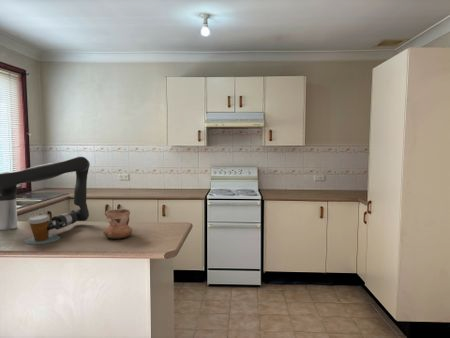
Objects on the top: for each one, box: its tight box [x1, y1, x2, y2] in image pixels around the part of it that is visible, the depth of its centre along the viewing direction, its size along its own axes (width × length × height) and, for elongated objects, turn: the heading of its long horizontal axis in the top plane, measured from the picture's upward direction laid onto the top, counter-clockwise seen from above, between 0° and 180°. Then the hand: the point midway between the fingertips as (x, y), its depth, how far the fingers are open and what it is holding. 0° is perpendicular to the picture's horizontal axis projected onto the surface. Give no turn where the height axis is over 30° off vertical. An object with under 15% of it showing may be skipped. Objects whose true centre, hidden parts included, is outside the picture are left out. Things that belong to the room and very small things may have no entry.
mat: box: [24, 234, 61, 246], centre depth 169 cm, size 16×16×1 cm
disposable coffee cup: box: [28, 213, 50, 241], centre depth 168 cm, size 10×10×12 cm
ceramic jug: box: [103, 208, 133, 240], centre depth 174 cm, size 18×14×14 cm
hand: (40, 228), depth 168 cm, fingers closed on disposable coffee cup, 8 cm apart
